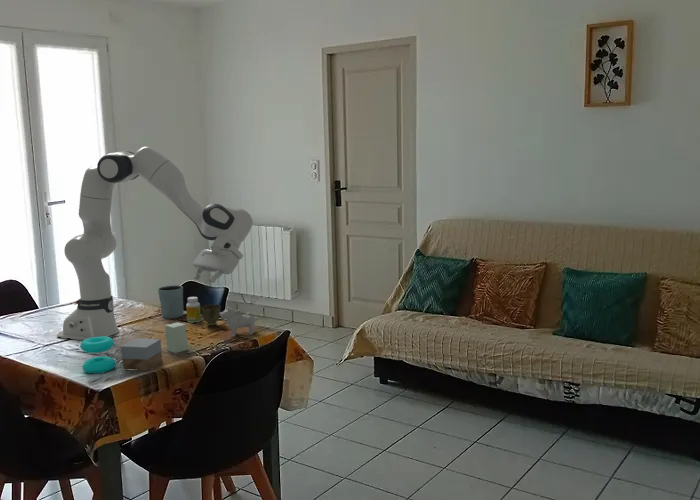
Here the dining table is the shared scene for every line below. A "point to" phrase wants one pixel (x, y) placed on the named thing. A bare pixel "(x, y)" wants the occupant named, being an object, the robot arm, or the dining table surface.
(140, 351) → the tower top slab
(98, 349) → the donuts
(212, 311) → the cup
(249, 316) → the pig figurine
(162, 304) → the grey-blue plant pot
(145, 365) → the tower bottom slab
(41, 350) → the dining table surface
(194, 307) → the supplement bottle
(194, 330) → the dining table surface
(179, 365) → the dining table surface
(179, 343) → the sage block
